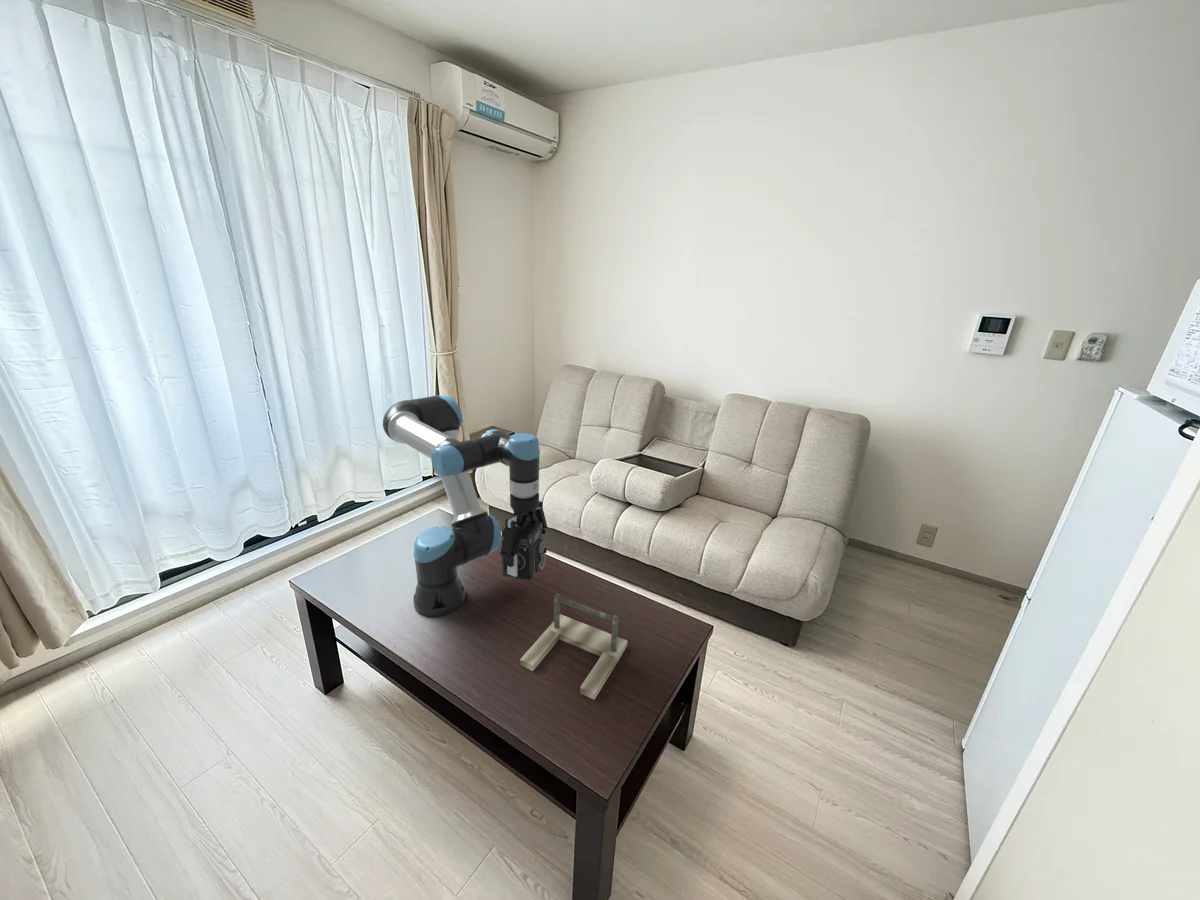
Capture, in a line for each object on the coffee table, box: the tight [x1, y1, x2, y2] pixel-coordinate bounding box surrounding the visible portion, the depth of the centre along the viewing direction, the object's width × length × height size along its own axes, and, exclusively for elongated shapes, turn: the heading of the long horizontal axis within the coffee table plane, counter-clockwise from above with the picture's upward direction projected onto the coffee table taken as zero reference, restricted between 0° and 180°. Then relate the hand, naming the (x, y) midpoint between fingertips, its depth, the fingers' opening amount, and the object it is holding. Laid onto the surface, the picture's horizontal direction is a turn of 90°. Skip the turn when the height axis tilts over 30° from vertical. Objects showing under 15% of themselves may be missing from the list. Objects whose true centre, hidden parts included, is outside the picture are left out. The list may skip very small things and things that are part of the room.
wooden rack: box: [519, 592, 628, 701], centre depth 123 cm, size 22×20×13 cm
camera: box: [500, 522, 548, 582], centre depth 126 cm, size 10×10×15 cm
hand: (525, 563), depth 127 cm, fingers closed on camera, 11 cm apart
